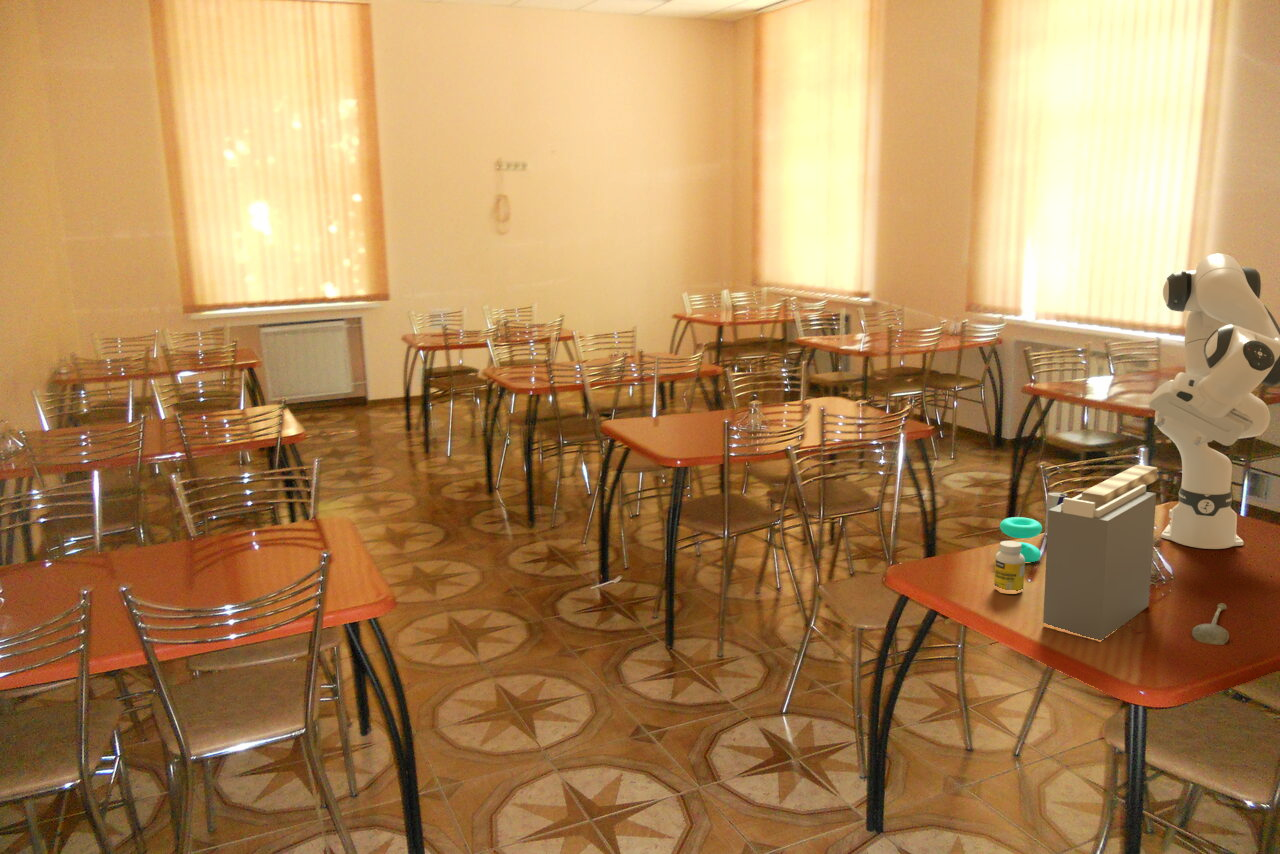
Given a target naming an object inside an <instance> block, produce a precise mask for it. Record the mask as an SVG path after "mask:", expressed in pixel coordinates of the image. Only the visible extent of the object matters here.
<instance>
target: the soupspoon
mask: <svg viewBox="0 0 1280 854" xmlns="http://www.w3.org/2000/svg"><path fill="white" fill-rule="evenodd" d="M1216 607H1217V609H1216V611H1215V613H1214V616H1213V618H1212V621H1211V623H1200V624H1198V625H1195V626H1194V627H1193V628H1192V631H1191V636H1192V637H1193V639H1194V640H1196V641H1197V642H1200V643H1204V644H1209V645H1216V646H1222V645H1223V646H1224V645H1226V644H1227V643H1228V641H1229V640H1230V633H1229V631H1228V630H1227V629H1226V628H1224V627H1222V626H1220V625H1218V624H1217V623H1218V620H1219V616H1220V614H1221V611H1224V610H1227V609H1228V607H1227V605H1226V603H1218V604H1217V606H1216Z"/></svg>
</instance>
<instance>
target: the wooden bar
mask: <svg viewBox="0 0 1280 854" xmlns="http://www.w3.org/2000/svg"><path fill="white" fill-rule="evenodd" d="M1157 478H1158V467H1156V466H1149V465H1143V464H1142V465H1141V464H1136V465H1134V466H1132V467H1129V468H1127V469H1125V470H1124V471H1122V472H1119V473H1117V474H1116V475H1113V476H1111V477H1110V478H1108V479H1105V480H1104V481H1102V482H1101V481H1100V482H1099V483H1098V484H1095V485H1093V486H1092V487H1089V488H1087V489H1085V490H1083V491H1082V492H1081V493H1082V500H1083V501H1089V502H1095V508H1099V507H1101V506H1103V505H1105V504H1107V503H1109V502H1110V501H1112V500H1114V499H1116V498H1118V497H1120V496H1122V495H1123V494H1125V493H1127V492H1129V491H1131V490H1133V489H1135V488H1136V487H1138V486H1140V485H1142V484H1143V485H1146V487H1147V486H1148V485H1150V484H1153V483H1155V482H1156V481H1157Z"/></svg>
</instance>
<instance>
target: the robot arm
mask: <svg viewBox="0 0 1280 854" xmlns="http://www.w3.org/2000/svg"><path fill="white" fill-rule="evenodd" d="M1263 284H1264V283H1263V280H1262V277H1261V274H1260V273H1259V271H1258V270H1257V269H1256V268H1253V267H1252V268H1251V267H1246V266H1241V265H1240V263H1239V262H1238V261H1237V260H1236V258H1234V257H1233V256H1232V255H1229V254H1225V253H1213V254H1209V255H1208V256H1206V257H1204V258H1203V259H1201V261H1200V262H1199V263H1198V265H1197V266H1196V269H1192V270H1185V269H1183V270H1180V271H1177V272H1174V273H1171V274H1170V275H1168V277H1166V281H1165V283H1164V285H1163V289H1162V297H1163V299H1164V303H1165V304H1166V307H1167V308H1168V309H1169V310H1170V311H1174V312H1180V313H1181V312H1182V313H1183V312H1184V311H1185V312H1186V311H1187V312H1189V313H1188V315H1187V320H1186V324H1185V331H1184V363H1185V365H1184V366H1185V367H1184V368H1185V371H1184V372H1178V373H1177V374H1176V375H1175V378H1174V379H1171V380H1167V381H1165V382H1163V384H1161V385H1160V386H1158V388H1156V389H1155V390H1154V391H1153V392H1152V393H1151V395H1150V397H1149V398H1148V406H1149V408H1150V409H1152V410H1154V411H1155V412H1154V426H1156V427H1157V428H1158V430H1159V431H1160V432H1161V433H1162V434H1164V435H1165V436H1166V437H1168V438H1169V439H1170V440H1171V441H1172V442H1173V444H1174V445H1175V446H1176V448H1177V450H1178V451H1179V454H1180V457H1181V466H1182V467H1181V469H1182V470H1181V473H1182V475H1181V476H1182V477H1181V478H1182V479H1181V485H1180V487H1179V491H1178V503H1177V504H1176V505H1174V507H1173V508H1172V509H1171V508H1170V509H1169V513H1168V518H1170V520H1169V522H1168V525H1167V526H1165V528H1164V529H1163V531H1162V532H1161V534H1160V535H1161V538H1162V539H1164V540H1169V541H1172V542H1175V543H1176V544H1180V545H1183V546H1185V547H1187V546H1188V547H1191V548H1197V549H1205V550H1207V549H1208V550H1221V549H1222V550H1223V549H1228V548H1232V547H1239V546H1244V540H1243V539H1242V538H1241V537H1239V535H1238V534H1237V525H1238V524H1237V523H1238V522H1237V521H1238V519H1237V518H1238V514H1237V513H1236V512H1235V510H1233V509H1232V500H1233V491H1232V490H1231V488H1232V487H1231V484H1232V475H1233V474H1232V473H1233V464H1232V461H1231V460H1230V458H1229V457H1228V456H1227V455H1225V454H1223V453H1222V452H1220V451H1218V450H1216V449H1214V448H1211V447H1209V445H1208V443H1212V442H1213V441H1215V442H1217V443H1219V444H1221V445H1223V446H1224V447H1225V446H1226V447H1229V446H1232V445H1234V444H1235V442H1237V441H1238V439H1247V438H1253V437H1259V436H1261V435H1262V434H1263V433H1264V432H1265V431H1266V430H1267V429H1268V427H1269V425H1270V422H1271V412H1270V409H1269V408H1268V405H1267V404H1266V402H1264V401H1263V400H1262V399H1261V398H1260V397H1258V396H1256V395H1254V394H1253V393H1252V392H1253V391H1254V390H1255V389H1256V388H1257V387H1259V385H1260V384H1263V385H1265V386H1266V387H1274V386H1278V385H1280V326H1279V324H1278V322H1277V321H1276V319H1275V317H1274V316H1273V314H1272V313H1271V311H1270V310H1269V309H1268V308H1267V307H1266V305H1265V304H1264V303H1263V302H1262V301H1261V300H1260V298H1261V296H1262V292H1263V289H1264V287H1263Z"/></svg>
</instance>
